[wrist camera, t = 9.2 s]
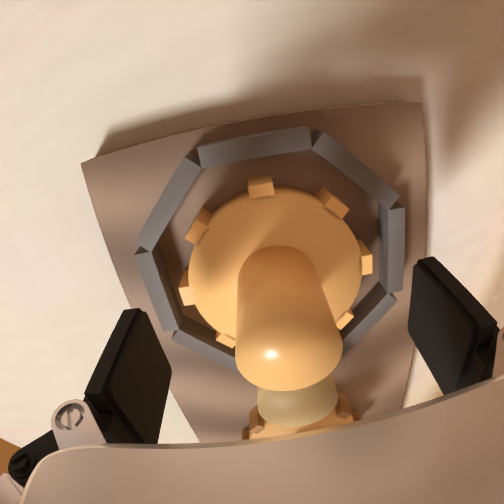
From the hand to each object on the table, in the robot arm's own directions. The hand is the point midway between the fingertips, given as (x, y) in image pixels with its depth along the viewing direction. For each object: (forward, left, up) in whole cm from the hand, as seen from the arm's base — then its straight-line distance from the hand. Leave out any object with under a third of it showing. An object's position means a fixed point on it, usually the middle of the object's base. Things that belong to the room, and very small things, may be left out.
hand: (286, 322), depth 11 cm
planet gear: (0, 0, -4) cm, 4 cm away
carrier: (+6, 0, -6) cm, 8 cm away
